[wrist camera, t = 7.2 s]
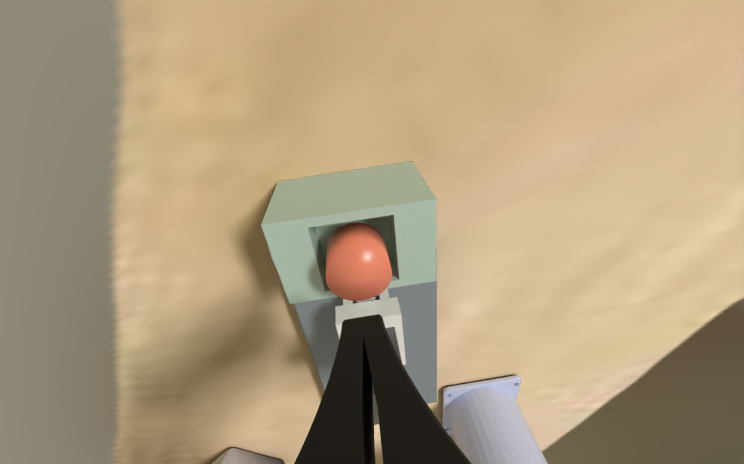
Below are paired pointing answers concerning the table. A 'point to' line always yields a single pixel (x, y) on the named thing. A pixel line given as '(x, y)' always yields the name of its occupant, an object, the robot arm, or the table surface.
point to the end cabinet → (350, 205)
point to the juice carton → (244, 458)
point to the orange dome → (357, 262)
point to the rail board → (417, 333)
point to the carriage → (390, 318)
